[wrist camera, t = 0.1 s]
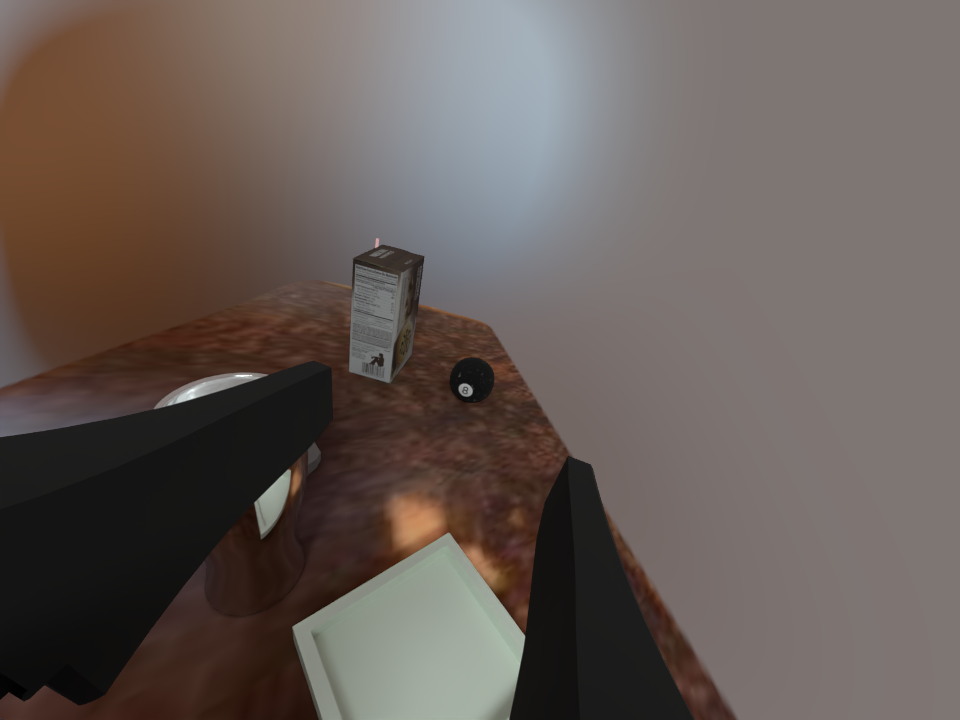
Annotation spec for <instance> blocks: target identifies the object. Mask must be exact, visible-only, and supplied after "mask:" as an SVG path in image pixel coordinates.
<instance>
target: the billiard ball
mask: <svg viewBox="0 0 960 720" xmlns="http://www.w3.org/2000/svg"><path fill="white" fill-rule="evenodd" d="M493 385H494V373H493V370H492V368H491V367H490V365H489V364H488V363H486V362H485V361H483V360H482V359H479V358H472V357H471V358H465V359H463V360H461V361H459V362H458V363H457V364H456V365H455V366H454V368H453V370H452V372H451V376H450V386H451V389H452V391H453V393H454V394H455V395H456V396H457V397H458V398H459V399H461V400H463V401H466V402H479V401H481V400H483V399H485V398H486V397H487V396H488V395H489V394H490V392H491V391H492V388H493Z"/></svg>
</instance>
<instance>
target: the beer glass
mask: <svg viewBox="0 0 960 720" xmlns="http://www.w3.org/2000/svg"><path fill="white" fill-rule="evenodd" d="M264 376H267V375H266V374H260V373H230V374H222V375H216V376H212V377H208V378H204V379H200V380H197V381H194V382H192V383H189V384H187V385H184V386H182V387H180V388H178V389H176V390H175V391H173V392H171V393H170V394H168V395H167V396H166V397H164V398H163V399H162V400H161V401H160V402H159V403H158V404H157V405H156V406H155V407H154V409H157V408H161V407H165V406H169V405H173V404H177V403H180V402H184V401H187V400H191V399H194V398H197V397H201V396H204V395H208V394H211V393H214V392H218V391H221V390H224V389H228V388H231V387H234V386H237V385H240V384H243V383H246V382H249V381H252V380H255V379H258V378H261V377H264ZM307 475H308V450H307V451H306V452H305V453H304V454H303V455H302V456H301V457H300V458H299V459H298V460H297V461H296V462H295V463H294V464H293V465H292V466H291V467H290V468H289V469H288V470H287V471H286V472H285V473H284V474H283V475H282V476H281V477H280V478H279V479H278V480H277V481H276V482H275V483H274V484H273V485H272V486H271V487H270V488H269V489H268V490H267V491H266V492H265V493H264V494H263V495H262V496H261V497H260V498H259V499H258V500H257V501H256V502H255V503H254V504H253V505H252V506H251V507H250V508H249V509H248V510H247V511H246V512H245V513H244V514H243V515H242V516H241V517H240V518H239V519H238V521H237V522H236V523H235V524H234V525H233V526H232V528H231V529H230V530H229V531H228V532H227V534H226V535H225V536H224V537H223V538H222V539H221V541H220V542H219V543H218V544H217V545H216V547H215V548H214V549H213V550H212V551H211V553H210V554H209V555H208V556H207V558H206V559H205V560H204V561H205V563H206V579H205V594H206V597H207V600H208V602H209V603H210V605H211V606H212V607H213V608H214V609H216V610H217V611H219V612H221V613H223V614H226V615H230V616H245V615H250V614H254V613H257V612H260V611H262V610H265V609H267V608H269V607H270V606H272V605H274V604H275V603H277V602H278V601H279V600H281V599H282V598H283V597H284V596H285V595H286V594H287V593H288V592H289V591H290V590H291V589H292V588H293V587H294V585H295V584H296V582H297V581H298V579H299V577H300V575H301V573H302V570H303V567H304V562H305V553H304V547H303V544H302V542H301V539H300V537H299V535H298V532H297V524H298V519H299V515H300V511H301V506H302V502H303V498H304V493H305V488H306V481H307Z"/></svg>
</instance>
